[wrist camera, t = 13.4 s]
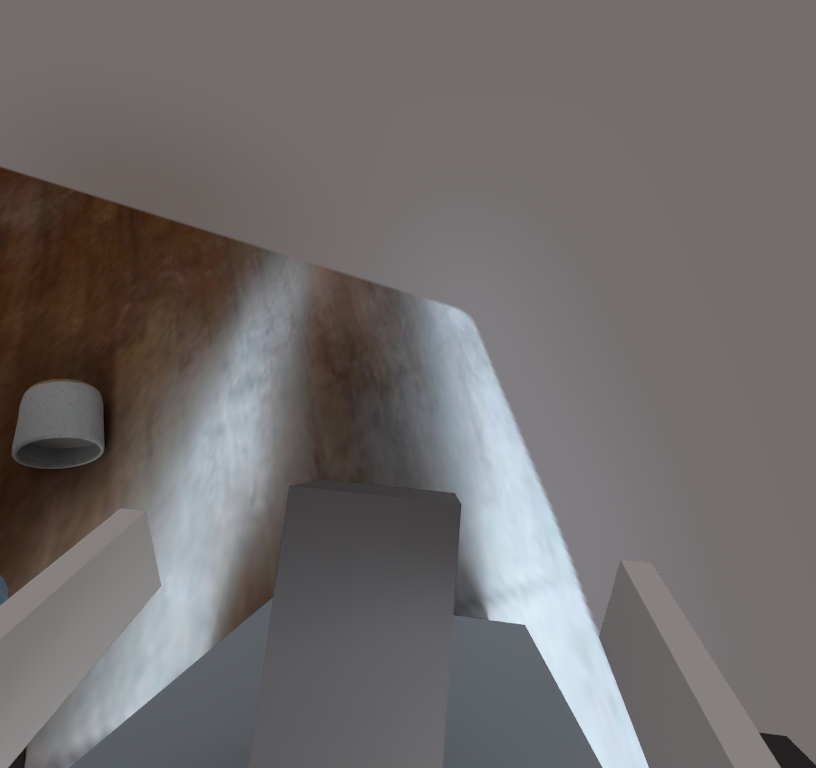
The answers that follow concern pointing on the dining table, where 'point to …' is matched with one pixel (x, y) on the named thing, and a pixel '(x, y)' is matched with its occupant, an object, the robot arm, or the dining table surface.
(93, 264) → the dining table surface
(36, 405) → the ceramic mug
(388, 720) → the lid
